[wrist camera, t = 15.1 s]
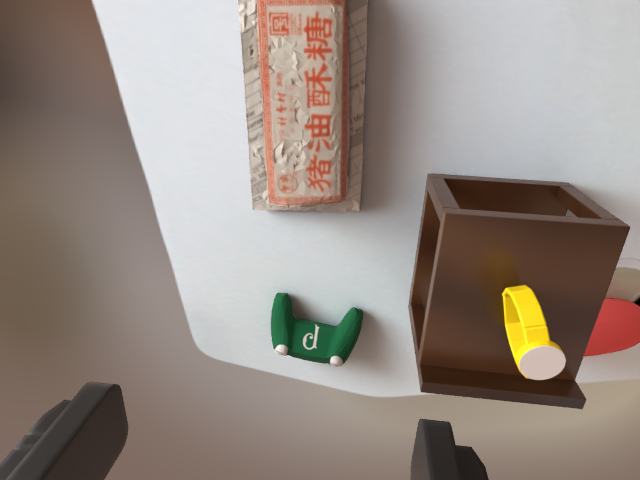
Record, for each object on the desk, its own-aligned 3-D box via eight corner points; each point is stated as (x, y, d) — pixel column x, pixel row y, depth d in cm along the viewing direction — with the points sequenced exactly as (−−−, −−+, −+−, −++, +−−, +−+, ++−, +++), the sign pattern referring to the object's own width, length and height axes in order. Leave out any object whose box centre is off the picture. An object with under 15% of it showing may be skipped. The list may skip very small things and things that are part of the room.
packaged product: (222, -20, 30) (369, -23, 29) (241, -12, 34) (368, -14, 33) (242, 224, 37) (359, 228, 36) (255, 205, 42) (360, 208, 41)
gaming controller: (277, 297, 48) (264, 352, 46) (275, 289, 44) (261, 349, 42) (360, 314, 48) (350, 370, 46) (365, 308, 44) (355, 369, 42)
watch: (489, 275, 31) (514, 324, 26) (530, 269, 31) (565, 318, 25) (496, 343, 33) (521, 401, 28) (535, 338, 33) (567, 396, 28)
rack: (427, 173, 39) (450, 224, 28) (568, 182, 38) (648, 239, 27) (408, 306, 45) (420, 392, 34) (529, 317, 44) (582, 409, 33)
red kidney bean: (543, 275, 43) (538, 328, 39) (657, 288, 39) (662, 349, 35) (540, 307, 46) (535, 358, 43) (644, 322, 42) (648, 381, 38)
